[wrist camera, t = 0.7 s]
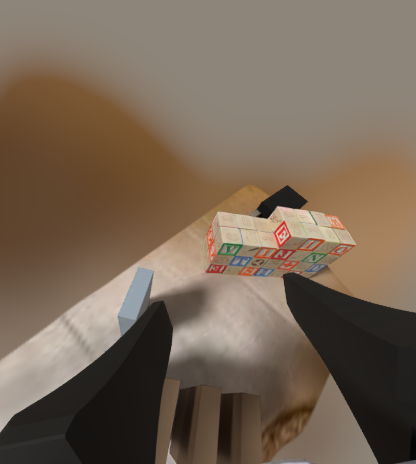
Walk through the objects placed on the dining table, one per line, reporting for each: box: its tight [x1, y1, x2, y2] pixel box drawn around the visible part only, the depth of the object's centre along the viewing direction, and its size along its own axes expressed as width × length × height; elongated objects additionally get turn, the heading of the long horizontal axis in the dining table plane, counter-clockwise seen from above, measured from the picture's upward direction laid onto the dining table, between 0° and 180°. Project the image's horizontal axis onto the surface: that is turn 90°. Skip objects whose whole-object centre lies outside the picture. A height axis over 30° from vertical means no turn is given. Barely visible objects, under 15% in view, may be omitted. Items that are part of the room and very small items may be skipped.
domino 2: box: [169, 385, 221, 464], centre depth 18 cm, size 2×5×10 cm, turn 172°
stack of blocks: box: [203, 206, 356, 278], centre depth 34 cm, size 21×6×12 cm, turn 95°
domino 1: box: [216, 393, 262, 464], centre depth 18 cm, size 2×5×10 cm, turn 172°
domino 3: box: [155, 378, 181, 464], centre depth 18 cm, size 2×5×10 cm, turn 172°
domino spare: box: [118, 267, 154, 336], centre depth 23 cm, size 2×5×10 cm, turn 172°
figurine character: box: [249, 186, 308, 219], centre depth 44 cm, size 7×8×15 cm
